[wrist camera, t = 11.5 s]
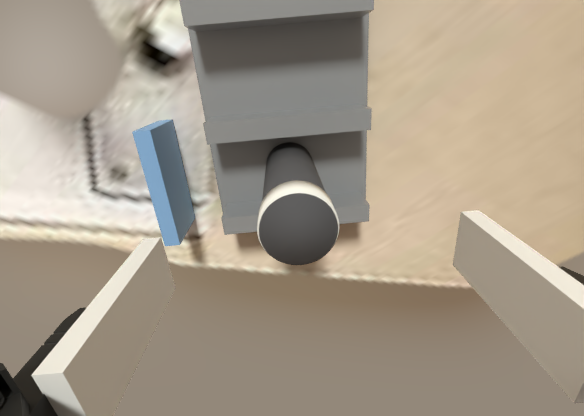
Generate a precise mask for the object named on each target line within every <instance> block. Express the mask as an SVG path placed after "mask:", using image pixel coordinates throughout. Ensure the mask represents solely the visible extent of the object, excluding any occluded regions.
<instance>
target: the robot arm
mask: <svg viewBox="0 0 584 416" xmlns="http://www.w3.org/2000/svg"><path fill="white" fill-rule="evenodd" d="M453 266H454V267H455V268H456V269H457V270H458V271H459V273H460V274H461V275H462V276H463V277H464V278H465V279H466V280H467V282H468V283H469V284H470V285H471V286H472V287H473V288H474V290H475V291H476V292H477V293H478V294H479V295H480V296H481V298H482V299H483V300H484V301H485V302H486V303H487V304H488V306H489V307H490V308H491V309H492V310H493V311H494V312H495V314H496V315H497V316H498V317H499V318H500V319H501V320H502V321H503V323H504V324H505V325H506V326H507V327H508V328H509V329H510V331H511V332H512V333H513V334H514V335H515V336H516V337H517V339H518V340H519V341H520V342H521V343H522V344H523V345H524V347H525V348H526V349H527V350H528V351H529V352H530V353H531V355H532V356H533V357H534V358H535V359H536V360H537V361H538V363H539V364H540V365H541V366H542V367H543V368H544V369H545V371H546V372H547V373H548V374H549V375H550V376H551V377H552V379H553V380H554V381H555V382H556V383H557V384H558V385H559V387H560V388H561V389H562V390H563V391H564V392H565V393H566V395H567V396H568V397H569V398H570V399H571V400H572V401H573V402H574V403H583V402H584V276H582V275H580V274H578V273H576V272H574V271H571V270H569V269H567V268H565V267H558V266H556V265H555V264H553V263H552V262H551V261H549V260H548V259H546V258H545V257H544V256H542V255H541V254H539V253H538V252H536V251H535V250H534V249H532V248H531V247H529V246H528V245H527V244H525V243H524V242H522V241H521V240H520V239H518V238H517V237H515V236H514V235H513V234H511V233H510V232H508V231H507V230H506V229H504V228H503V227H501V226H500V225H499V224H497V223H496V222H494V221H493V220H492V219H490V218H489V217H487V216H486V215H485V214H483V213H482V212H480V211H479V210H476V211H465V212H461V215H460V222H459V228H458V234H457V241H456V247H455V254H454V260H453ZM174 290H175V285H174V281H173V277H172V274H171V271H170V267H169V263H168V260H167V257H166V253H165V250H164V246H163V243H162V239H161V237H159V238H148V239H143V240H142V241H141V243H140V244H139V245H138V246H137V247H136V249H135V250H134V251H133V252H132V253H131V255H130V256H129V257H128V258H127V260H126V261H125V262H124V264H122V266H121V267H120V268H119V269H118V271H117V272H116V273H115V274H114V275H113V277H112V278H111V279H110V280H109V282H108V283H107V284H106V285H105V286H104V288H103V289H102V290H101V291H100V292H99V294H98V295H97V296H96V297H95V298H94V300H93V301H92V302H91V303H90V305H89V306H88V307H87V308H80V309H78V310H77V311H75V312H74V313H73V314H71V315H70V316H69V317H67V318H66V319H65V320H64V321H63V322H62V323H61V324H60V325H59V327H58V328H57V329H56V330H55V331H54V334H53V335H51V336H50V337H49V338H48V339H47V340H46V342H45V343H44V345H43V346H41V347H40V348H39V350H38V351H37V352H36V353H35V354H34V355H33V356H32V358H31V359H30V360H29V361H28V362H27V363H26V364H25V366H24V367H23V368H22V369H21V370H20V371H19V372H18V374H17V375H16V376H15V377H14V378H12V377H11V376H10V374H9V372H8V371H7V369H6V368H5V366H4V365H3V364H2V363H0V416H113V415H114V413H115V411H116V409H117V407H118V405H119V403H120V401H121V399H122V397H123V395H124V392H125V390H126V388H127V386H128V384H129V382H130V380H131V378H132V376H133V374H134V372H135V370H136V368H137V366H138V364H139V362H140V360H141V358H142V356H143V353H144V351H145V350H146V347H147V346H148V343H149V342H150V339H151V337H152V335H153V333H154V331H155V329H156V327H157V325H158V323H159V321H160V319H161V317H162V315H163V313H164V311H165V309H166V307H167V305H168V303H169V301H170V299H171V297H172V294H173V292H174Z"/></svg>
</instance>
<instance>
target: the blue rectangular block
mask: <svg viewBox="0 0 584 416" xmlns="http://www.w3.org/2000/svg"><path fill="white" fill-rule="evenodd" d="M132 133H133V136H134V140H135V143H136V147H137V150H138V154H139V157H140V161H141V164H142V168H143V171H144V175H145V178H146V181H147V185H148V188H149V192H150V195H151V199H152V202H153V206H154V209H155V213H156V216H157V220H158V223H159V227H160V230H161V234H162V237H163V241H164V244H165V246H172V245H180V244H181V242H182V240H183V239H184V237H185V235H186V233H187V231H188V230H189V228H190V226H191V224H192V222H193V221H194V219H195V215H194V210H193V206H192V202H191V197H190V193H189V189H188V184H187V180H186V176H185V171H184V167H183V163H182V158H181V154H180V150H179V145H178V141H177V137H176V132H175V128H174V124H173V120H164V121H157V122H155V123H152V124H150V125H147V126H145V127H143V128H140V129H138V130H136V131H133V132H132Z"/></svg>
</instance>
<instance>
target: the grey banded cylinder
mask: <svg viewBox="0 0 584 416" xmlns="http://www.w3.org/2000/svg"><path fill="white" fill-rule="evenodd" d="M257 234H258V239H259V241H260V243H261V245H262V247H263V248H264V250H265V251H266V252H267V253H268V254H269V255H270V256H272V257H273V258H275V259H276V260H278V261H280V262H283V263H286V264H291V265H304V264H309V263H312V262H315V261H317V260H319V259H320V258H322V257H323V256H325V255H326V254H327V253H328V252H329V251H330V250H331V248H332V247H333V246H334V244H335V242H336V240H337V238H338V234H339V219H338V216H337V213H336V211H335V209H334V206H333V204H332V201H331V199H330V198H329V196H328V195H327V193H326V192H325V189H324V187H323V184H322V182H321V179H320V177H319V174H318V172H317V169H316V167H315V165H314V162H313V160H312V157H311V155H310V153H309V152H308V150H307V149H306V148H305V147H303V146H302V145H300V144H298V143H294V142H286V143H282V144H279V145H278V146H276V147H275V148H273V150H272V151H271V152H270V153H269V155H268V158H267V161H266V170H265V179H264V188H263V197H262V203H261V205H260V209H259V215H258V223H257Z"/></svg>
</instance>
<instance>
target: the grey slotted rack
mask: <svg viewBox="0 0 584 416" xmlns="http://www.w3.org/2000/svg"><path fill="white" fill-rule="evenodd" d="M179 1H180V6H181V11H182V16H183V21H184V26H185V27H187V28H188V31H189V36H190V41H191V46H192V52H193V57H194V62H195V68H196V73H197V78H198V83H199V89H200V94H201V99H202V105H203V110H204V115H205V120H206V122H205V123H203V125H204V130H205V135H206V140H207V145H208V144H210V147H211V152H212V157H213V163H214V168H215V173H216V179H217V184H218V189H219V194H220V200H221V205H222V210H223V216H222V223H223V229H224V234H225V235H227V234H237V233H248V232H257V223H258V215H259V209H260V205H261V203H262V197H263V188H264V179H265V170H266V161H267V158H268V155H269V153H270V152H271V151H272V150H273V148H275V147H276V146H278V145H279V144H282V143H286V142H294V143H298V144H300V145H302V146H303V147H305V148H306V149H307V150H308V152H309V153H310V155H311V157H312V160H313V162H314V165H315V167H316V169H317V172H318V174H319V177H320V179H321V182H322V184H323V187H324V189H325V192H326V193H327V195H328V196H329V198H330V199H331V201H332V204H333V206H334V209H335V211H336V213H337V216H338V219H339V224H345V223H355V222H366V221H369V204H368V202H367V201H366V141H367V130H371V108H369V107H367V83H368V24H369V12H371V11H373V10H374V0H179Z"/></svg>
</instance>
